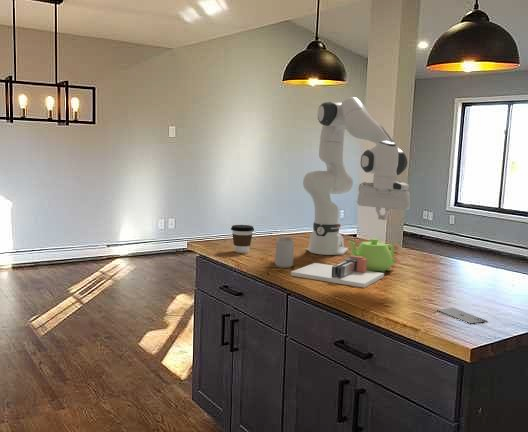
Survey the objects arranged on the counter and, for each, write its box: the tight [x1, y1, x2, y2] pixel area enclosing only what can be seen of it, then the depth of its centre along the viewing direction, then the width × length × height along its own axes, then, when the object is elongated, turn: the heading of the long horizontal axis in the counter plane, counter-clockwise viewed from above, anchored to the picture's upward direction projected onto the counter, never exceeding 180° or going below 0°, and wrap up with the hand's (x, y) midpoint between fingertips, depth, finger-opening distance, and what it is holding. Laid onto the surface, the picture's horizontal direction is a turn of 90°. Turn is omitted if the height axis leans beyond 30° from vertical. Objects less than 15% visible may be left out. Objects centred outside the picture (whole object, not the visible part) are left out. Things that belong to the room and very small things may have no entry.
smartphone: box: [436, 307, 489, 325], centre depth 173 cm, size 7×1×15 cm
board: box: [290, 262, 385, 289], centre depth 221 cm, size 22×30×2 cm
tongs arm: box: [332, 260, 348, 277], centre depth 218 cm, size 14×2×4 cm, turn 152°
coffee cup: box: [230, 224, 255, 254], centre depth 264 cm, size 11×11×12 cm
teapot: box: [347, 238, 396, 273], centre depth 235 cm, size 22×15×13 cm
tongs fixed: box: [337, 256, 357, 278], centre depth 219 cm, size 18×5×5 cm, turn 150°
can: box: [274, 236, 295, 269], centre depth 235 cm, size 8×8×12 cm
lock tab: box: [349, 254, 367, 272], centre depth 225 cm, size 3×6×6 cm, turn 60°
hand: (382, 219), depth 218 cm, fingers closed
